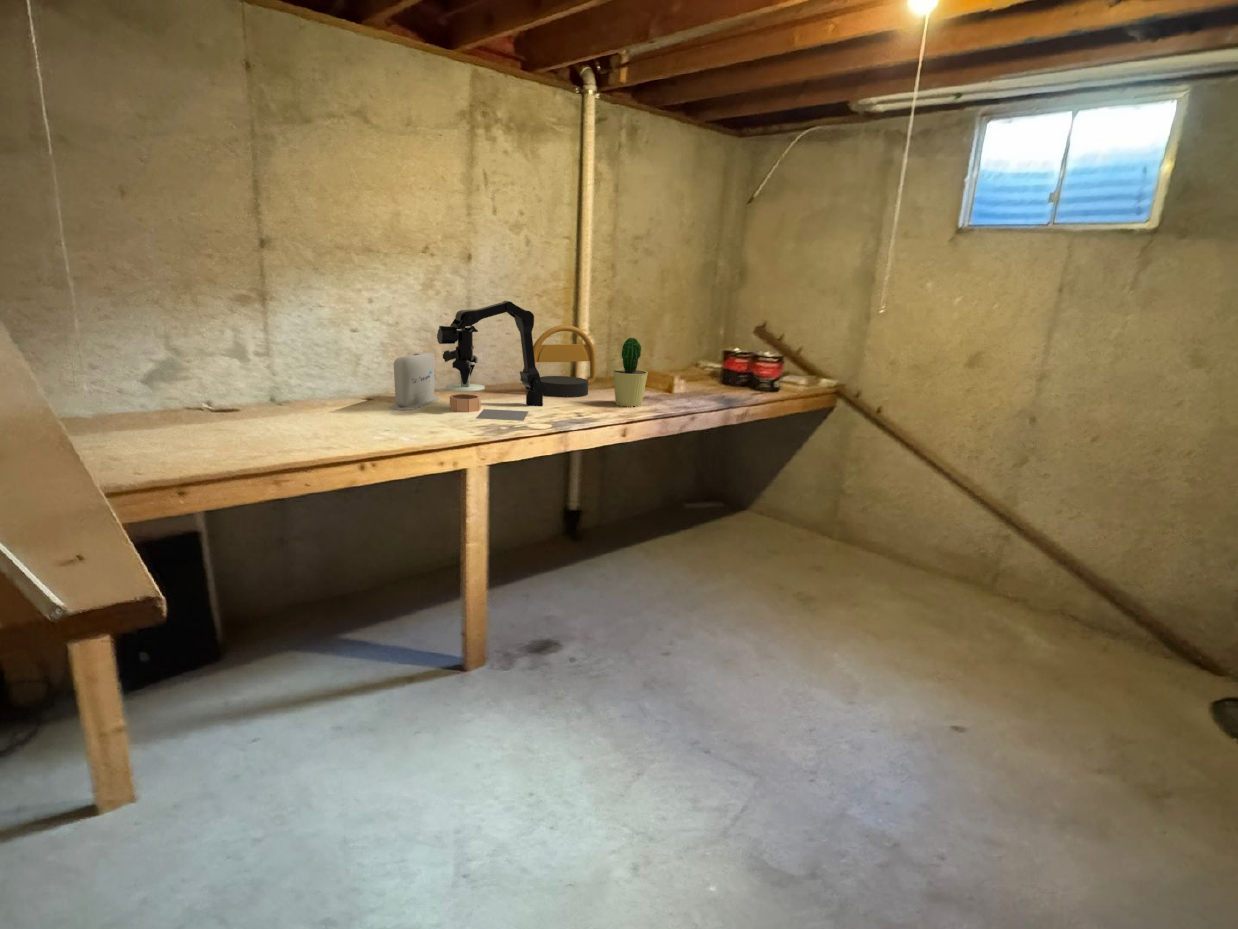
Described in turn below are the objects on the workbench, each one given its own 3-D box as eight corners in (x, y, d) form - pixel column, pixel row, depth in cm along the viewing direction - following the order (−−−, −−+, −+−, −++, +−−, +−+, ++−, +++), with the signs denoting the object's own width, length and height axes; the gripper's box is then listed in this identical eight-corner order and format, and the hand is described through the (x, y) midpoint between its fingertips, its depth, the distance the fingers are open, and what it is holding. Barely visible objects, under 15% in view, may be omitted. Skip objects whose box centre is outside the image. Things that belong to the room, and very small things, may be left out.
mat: (528, 412, 276) (528, 411, 276) (523, 421, 259) (523, 420, 258) (483, 410, 275) (483, 408, 275) (475, 419, 258) (475, 418, 258)
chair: (606, 395, 323) (610, 327, 315) (539, 399, 305) (541, 327, 297) (581, 387, 344) (584, 322, 335) (516, 389, 325) (517, 322, 317)
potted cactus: (627, 409, 294) (631, 338, 286) (604, 403, 305) (607, 334, 297) (653, 406, 304) (657, 337, 295) (629, 400, 315) (633, 334, 306)
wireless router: (408, 411, 266) (406, 359, 260) (384, 409, 267) (382, 357, 262) (444, 398, 295) (443, 351, 290) (422, 396, 297) (421, 349, 292)
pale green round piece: (487, 385, 278) (487, 372, 277) (481, 392, 264) (481, 377, 262) (450, 384, 278) (450, 370, 276) (441, 390, 263) (441, 375, 262)
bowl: (482, 408, 279) (482, 394, 277) (477, 413, 268) (477, 399, 266) (454, 406, 279) (454, 393, 277) (447, 412, 268) (447, 398, 266)
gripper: (449, 340, 275) (450, 378, 279) (438, 345, 257) (439, 386, 261) (477, 341, 275) (477, 380, 279) (468, 346, 257) (468, 387, 262)
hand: (465, 383), depth 270 cm, fingers closed on pale green round piece, 3 cm apart
